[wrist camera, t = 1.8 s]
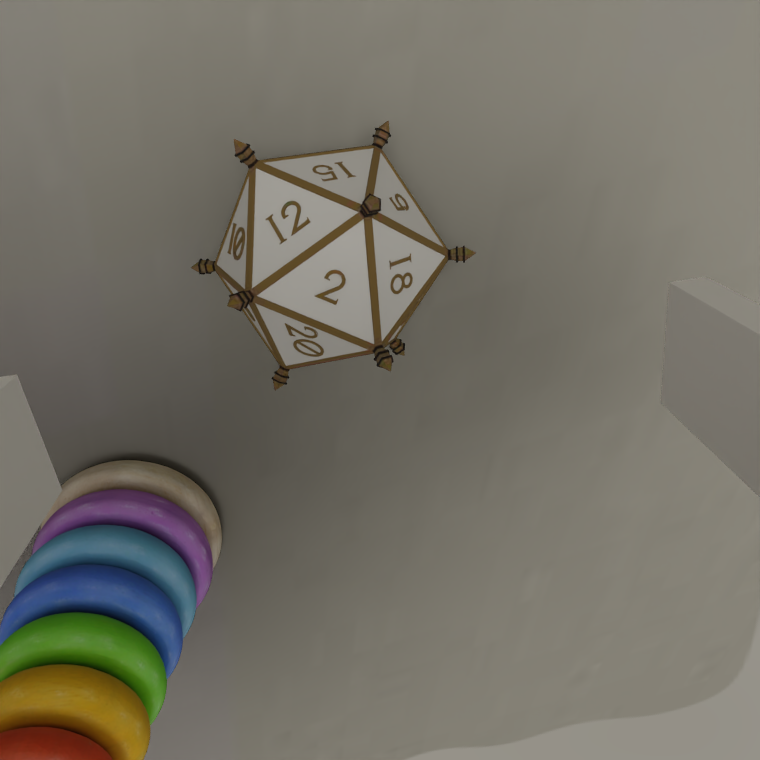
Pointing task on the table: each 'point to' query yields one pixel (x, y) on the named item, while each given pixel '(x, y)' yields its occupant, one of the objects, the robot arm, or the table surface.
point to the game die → (328, 255)
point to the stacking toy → (104, 612)
